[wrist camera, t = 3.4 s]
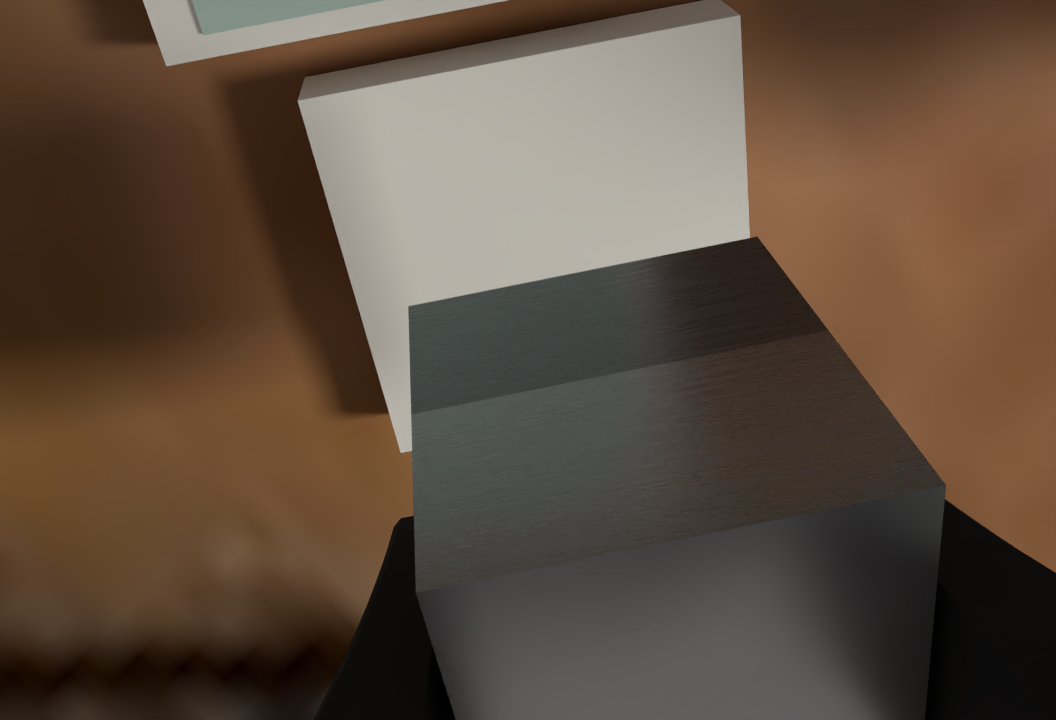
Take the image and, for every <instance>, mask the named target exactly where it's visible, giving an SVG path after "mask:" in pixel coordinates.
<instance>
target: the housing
mask: <svg viewBox="0 0 1056 720" xmlns="http://www.w3.org/2000/svg"><path fill="white" fill-rule="evenodd" d="M408 316H409V353H410V390H411V427H412V465H413V502H414V539H415V576H416V595H417V598H418V601H419V604H420V608H421V611H422V614H423V617H424V620H425V624H426V627H427V630H428V633H429V636H430V639H431V643H432V646H433V649H434V652H435V655H436V659H437V662H438V665H439V668H440V671H441V675H442V678H443V681H444V684H445V687H446V690H447V694H448V697H449V700H450V703H451V706H452V710H453V713H454V716H455V719H456V720H925V711H926V700H927V689H928V678H929V667H930V656H931V645H932V634H933V623H934V612H935V601H936V589H937V578H938V567H939V556H940V545H941V534H942V523H943V512H944V501H945V490H946V485H945V483H944V482H943V481H942V479H941V478H940V477H939V475H938V474H937V473H936V471H935V470H934V469H933V467H932V466H931V465H930V463H929V462H928V461H927V460H926V458H925V457H924V456H923V454H922V453H921V452H920V450H919V449H918V448H917V446H916V445H915V444H914V442H913V441H912V440H911V438H910V437H909V436H908V434H907V433H906V432H905V431H904V429H903V428H902V427H901V425H900V424H899V423H898V421H897V420H896V419H895V417H894V416H893V415H892V413H891V412H890V411H889V409H888V408H887V407H886V406H885V404H884V403H883V402H882V400H881V399H880V398H879V396H878V395H877V394H876V392H875V391H874V390H873V388H872V387H871V386H870V384H869V383H868V382H867V380H866V379H865V378H864V377H863V375H862V374H861V373H860V371H859V370H858V369H857V367H856V366H855V365H854V363H853V362H852V361H851V359H850V358H849V357H848V355H847V354H846V353H845V351H844V350H843V349H842V348H841V346H840V345H839V344H838V342H837V341H836V340H835V338H834V337H833V336H832V334H831V333H830V332H829V330H828V329H827V328H826V326H825V325H824V324H823V322H822V321H821V320H820V319H819V317H818V316H817V315H816V313H815V312H814V311H813V309H812V308H811V307H810V305H809V304H808V303H807V301H806V300H805V299H804V297H803V296H802V295H801V294H800V292H799V291H798V290H797V288H796V287H795V286H794V284H793V283H792V282H791V280H790V279H789V278H788V276H787V275H786V274H785V272H784V271H783V270H782V268H781V267H780V266H779V265H778V263H777V262H776V261H775V259H774V258H773V257H772V255H771V254H770V253H769V251H768V250H767V249H766V247H765V246H764V245H763V243H762V242H761V241H760V239H759V238H758V237H752V238H747V239H742V240H737V241H732V242H727V243H722V244H717V245H712V246H707V247H702V248H697V249H692V250H687V251H682V252H677V253H672V254H667V255H662V256H657V257H652V258H647V259H642V260H637V261H632V262H627V263H622V264H617V265H612V266H607V267H602V268H597V269H592V270H587V271H582V272H577V273H572V274H567V275H562V276H557V277H552V278H547V279H542V280H537V281H532V282H527V283H522V284H517V285H512V286H507V287H502V288H497V289H492V290H487V291H482V292H477V293H472V294H467V295H462V296H457V297H452V298H447V299H442V300H437V301H432V302H427V303H422V304H417V305H412V306H408Z"/></svg>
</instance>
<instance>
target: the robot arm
mask: <svg viewBox="0 0 1056 720" xmlns="http://www.w3.org/2000/svg"><path fill="white" fill-rule="evenodd" d="M314 720H456V719H455V716H454V713H453V710H452V706H451V703H450V700H449V697H448V694H447V690H446V687H445V684H444V681H443V678H442V675H441V671H440V668H439V665H438V662H437V659H436V655H435V652H434V649H433V646H432V643H431V639H430V636H429V633H428V630H427V627H426V624H425V620H424V617H423V614H422V611H421V608H420V604H419V601H418V598H417V595H416V576H415V539H414V516H411V517H406V518H401V519H400V520H399V521H398V522H397V524H396V525H395V526H394V528H393V532H392V535H391V539H390V542H389V546H388V549H387V552H386V555H385V558H384V561H383V564H382V567H381V570H380V572H379V575H378V578H377V581H376V583H375V586H374V589H373V591H372V594H371V596H370V599H369V602H368V604H367V607H366V609H365V611H364V614H363V616H362V618H361V621H360V623H359V626H358V628H357V630H356V633H355V635H354V637H353V640H352V642H351V644H350V647H349V649H348V651H347V653H346V656H345V658H344V660H343V662H342V664H341V666H340V668H339V670H338V672H337V674H336V676H335V678H334V680H333V682H332V684H331V686H330V688H329V690H328V692H327V694H326V696H325V698H324V700H323V702H322V704H321V706H320V708H319V710H318V712H317V714H316V716H315V718H314ZM925 720H1056V573H1055V572H1053V571H1052V570H1050V569H1049V568H1047V567H1045V566H1044V565H1042V564H1040V563H1039V562H1037V561H1036V560H1034V559H1032V558H1031V557H1029V556H1028V555H1026V554H1024V553H1023V552H1021V551H1019V550H1018V549H1016V548H1015V547H1013V546H1012V545H1010V544H1009V543H1007V542H1006V541H1004V540H1003V539H1001V538H1000V537H998V536H997V535H995V534H994V533H993V532H991V531H990V530H988V529H987V528H985V527H984V526H982V525H981V524H980V523H978V522H977V521H975V520H974V519H972V518H971V517H970V516H968V515H967V514H965V513H964V512H962V511H961V510H959V509H958V508H957V507H955V506H954V505H952V504H951V503H950V502H948V501H947V500H946V499H945V501H944V512H943V523H942V534H941V545H940V556H939V567H938V578H937V589H936V601H935V612H934V623H933V634H932V645H931V656H930V667H929V678H928V689H927V700H926V711H925Z"/></svg>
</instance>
